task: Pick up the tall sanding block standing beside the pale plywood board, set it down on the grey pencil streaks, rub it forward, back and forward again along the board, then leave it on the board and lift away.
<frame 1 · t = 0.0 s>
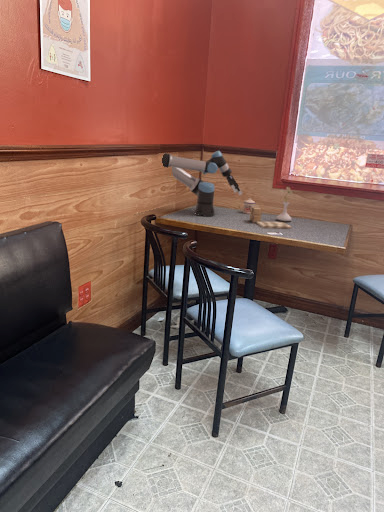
hand: (238, 193, 311), 15 cm above the table, tool tilted 35°, fingers open, 13 cm apart
teacup with lid: (250, 213, 317), on the table
sanding block: (254, 221, 285), on the table
board: (273, 226, 274), on the table
flower in vase: (283, 220, 297), on the table
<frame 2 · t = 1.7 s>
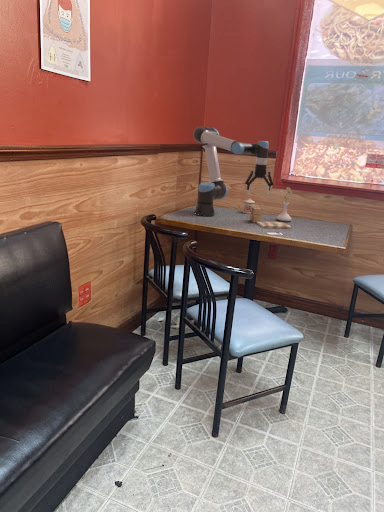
hand: (257, 195, 280), 19 cm above the table, tool pointing down, fingers open, 13 cm apart
nothing on the table moved.
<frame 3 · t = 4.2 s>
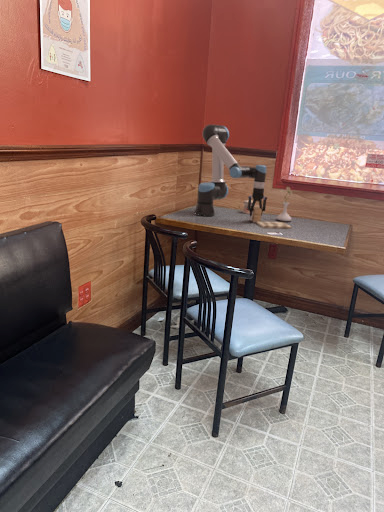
hand: (255, 220, 285), 1 cm above the table, tool pointing down, fingers closed on sanding block, 5 cm apart
sanding block: (254, 221, 285), on the table, touching gripper
everything else where it was.
when the fingers open (3 cm above the table, at t = 14.8 s): sanding block stays where it is, resting on board.
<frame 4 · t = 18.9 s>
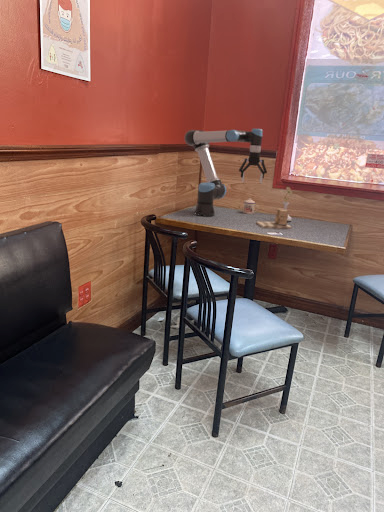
hand: (251, 182, 284), 27 cm above the table, tool pointing down, fingers open, 13 cm apart
sanding block: (280, 224, 275), point 1 cm above the table, touching board
everything else where it was.
at the end: sanding block inside the target area on the board (5.0 cm from its centre), point 1.5 cm above the board's base; the gripper is holding nothing; sanding block moved 19.2 cm from its start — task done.
